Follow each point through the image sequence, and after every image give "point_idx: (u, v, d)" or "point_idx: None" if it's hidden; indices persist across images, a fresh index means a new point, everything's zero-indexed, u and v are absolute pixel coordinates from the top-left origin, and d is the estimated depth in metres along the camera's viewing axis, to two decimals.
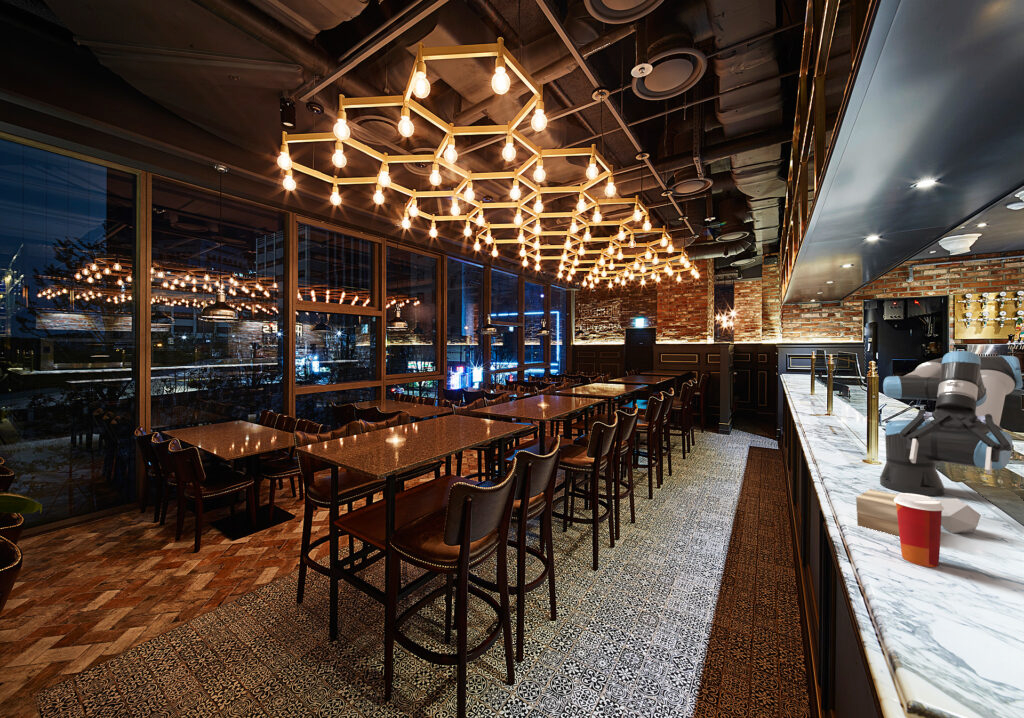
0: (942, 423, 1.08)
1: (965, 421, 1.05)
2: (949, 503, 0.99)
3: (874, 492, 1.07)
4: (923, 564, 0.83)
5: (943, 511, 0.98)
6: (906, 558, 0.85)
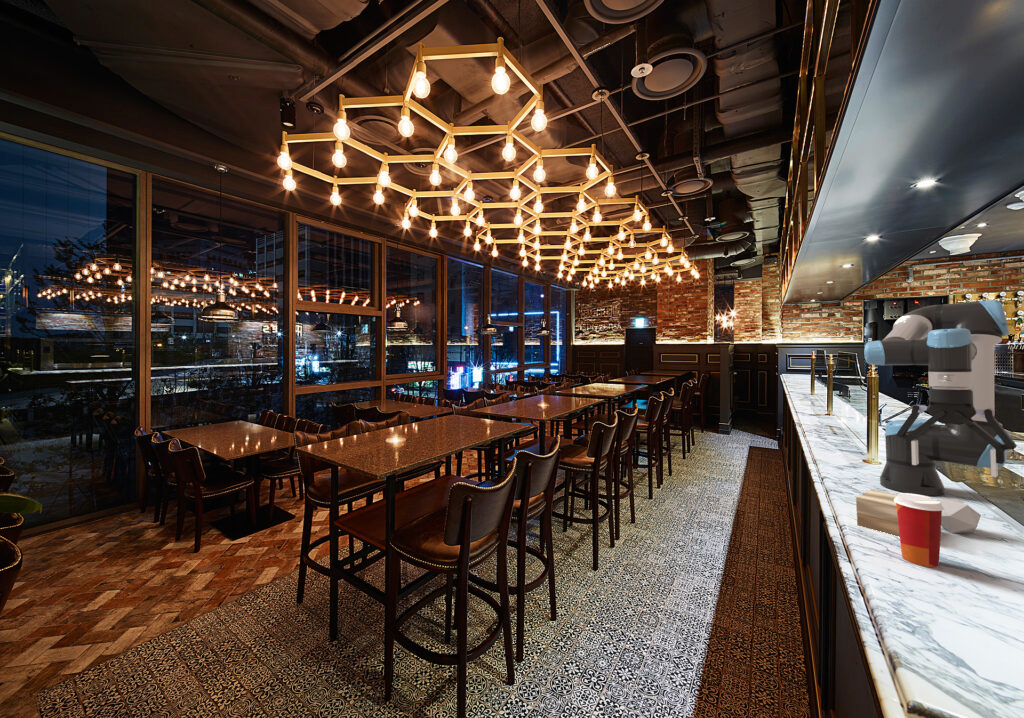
0: (939, 421, 1.00)
1: (964, 420, 0.96)
2: (949, 503, 0.99)
3: (875, 492, 1.07)
4: (923, 564, 0.83)
5: (943, 511, 0.98)
6: (906, 558, 0.85)
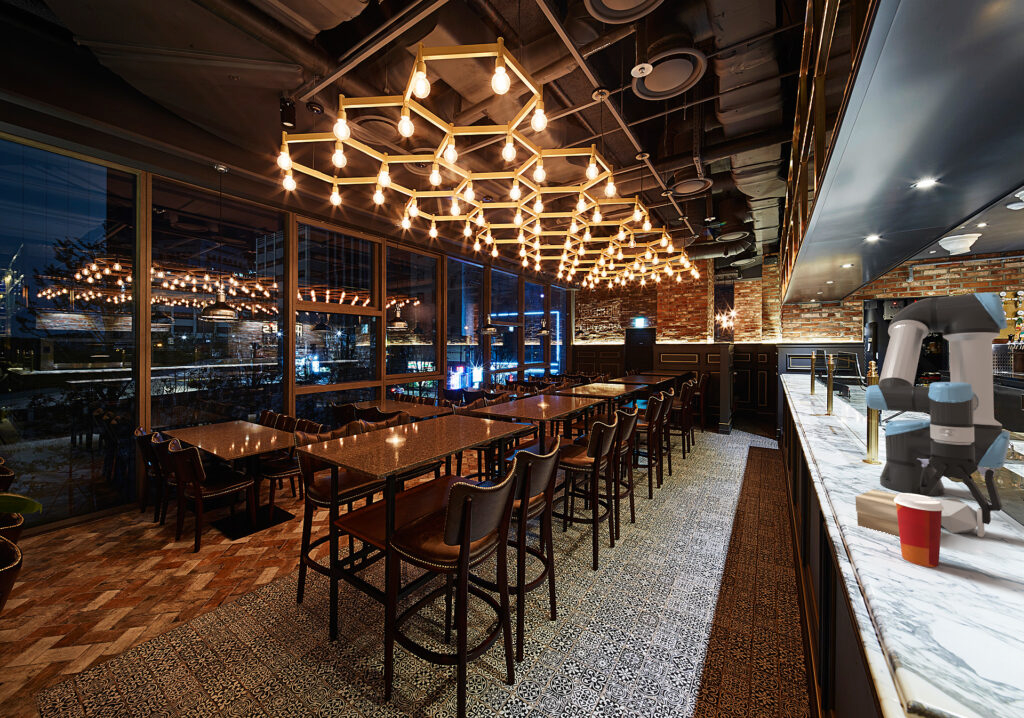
0: None
1: (963, 476, 0.97)
2: (949, 503, 0.99)
3: (876, 492, 1.07)
4: (923, 564, 0.83)
5: (943, 511, 0.98)
6: (906, 558, 0.85)
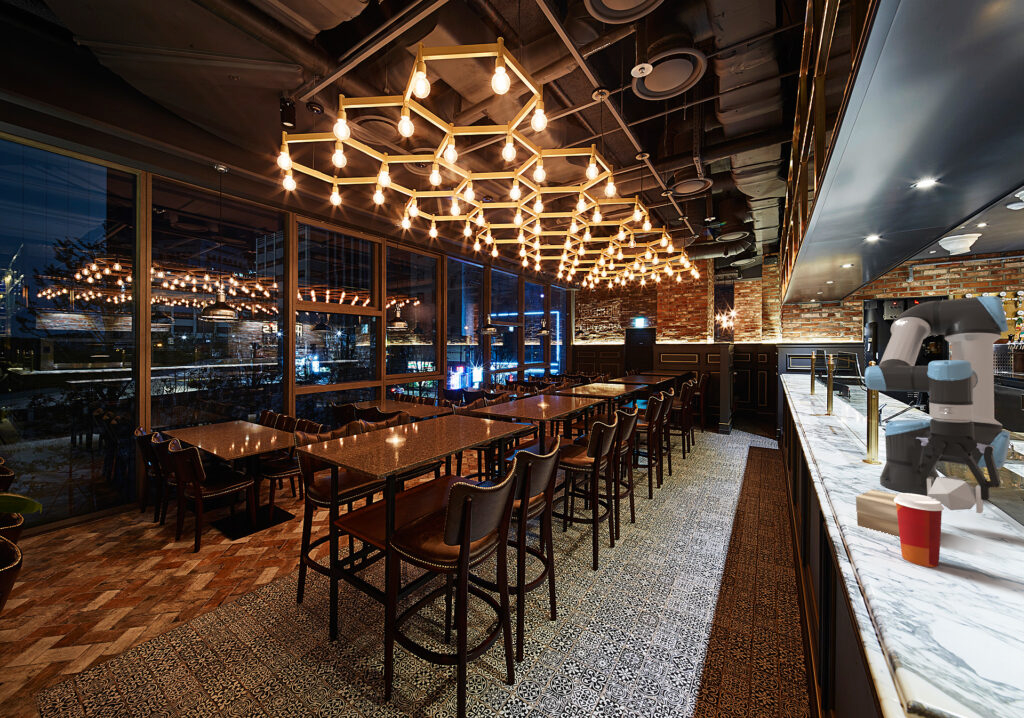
0: None
1: (962, 453, 0.97)
2: (948, 480, 0.99)
3: (875, 492, 1.06)
4: (923, 564, 0.83)
5: (942, 489, 0.99)
6: (906, 558, 0.85)
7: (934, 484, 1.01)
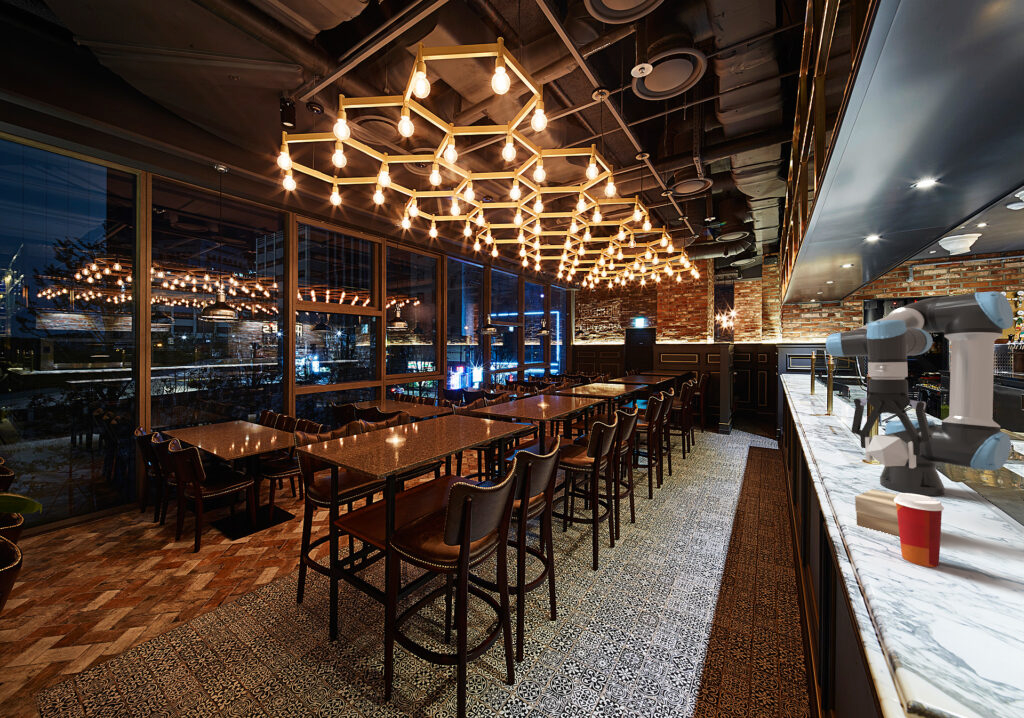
0: None
1: (896, 410, 0.99)
2: (883, 437, 1.01)
3: (875, 492, 1.06)
4: (923, 564, 0.83)
5: (877, 445, 1.01)
6: (906, 558, 0.85)
7: (871, 442, 1.03)
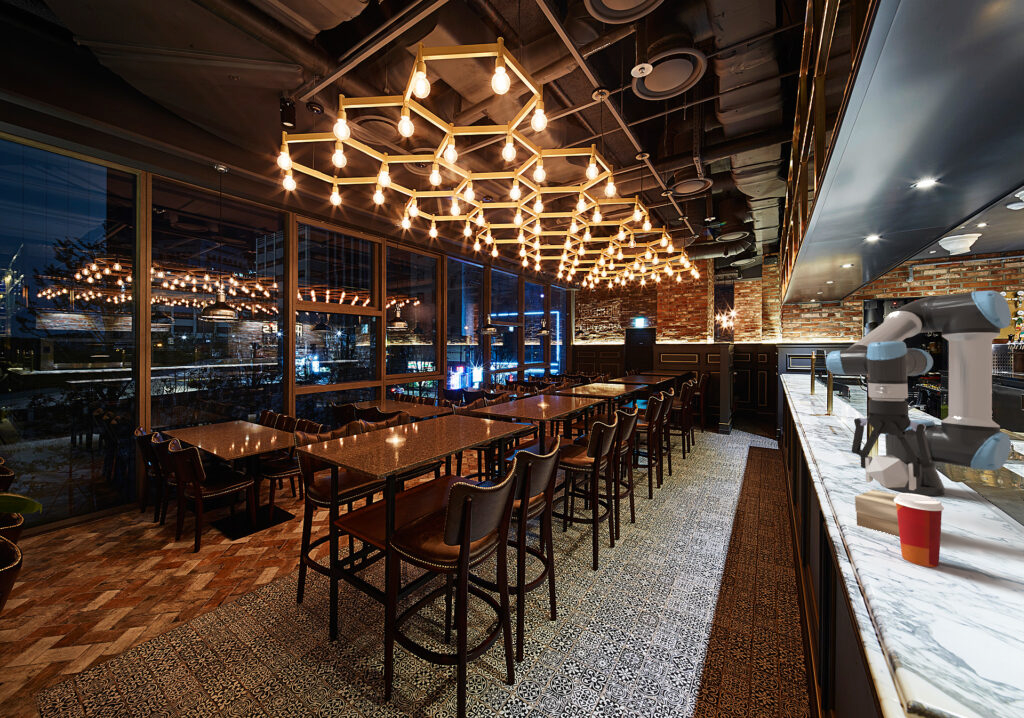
0: None
1: (896, 431, 0.99)
2: (883, 458, 1.01)
3: (876, 492, 1.06)
4: (923, 564, 0.83)
5: (877, 466, 1.01)
6: (906, 558, 0.85)
7: (871, 462, 1.03)
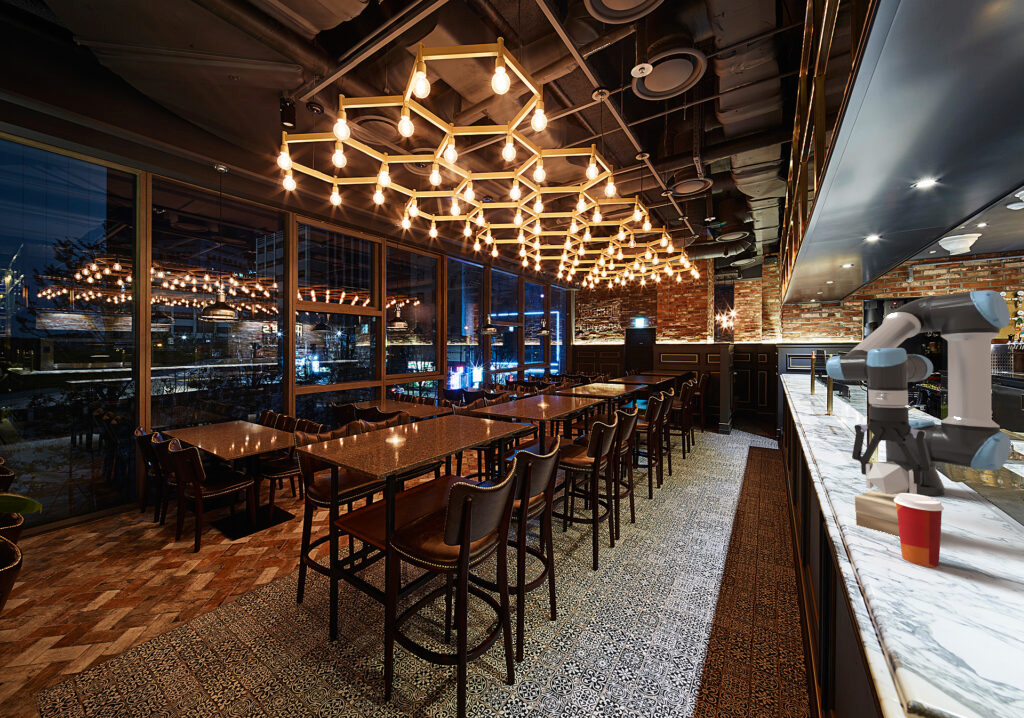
0: None
1: (897, 438, 0.99)
2: (884, 465, 1.01)
3: (876, 493, 1.06)
4: (923, 564, 0.83)
5: (878, 473, 1.01)
6: (906, 558, 0.85)
7: (872, 469, 1.03)
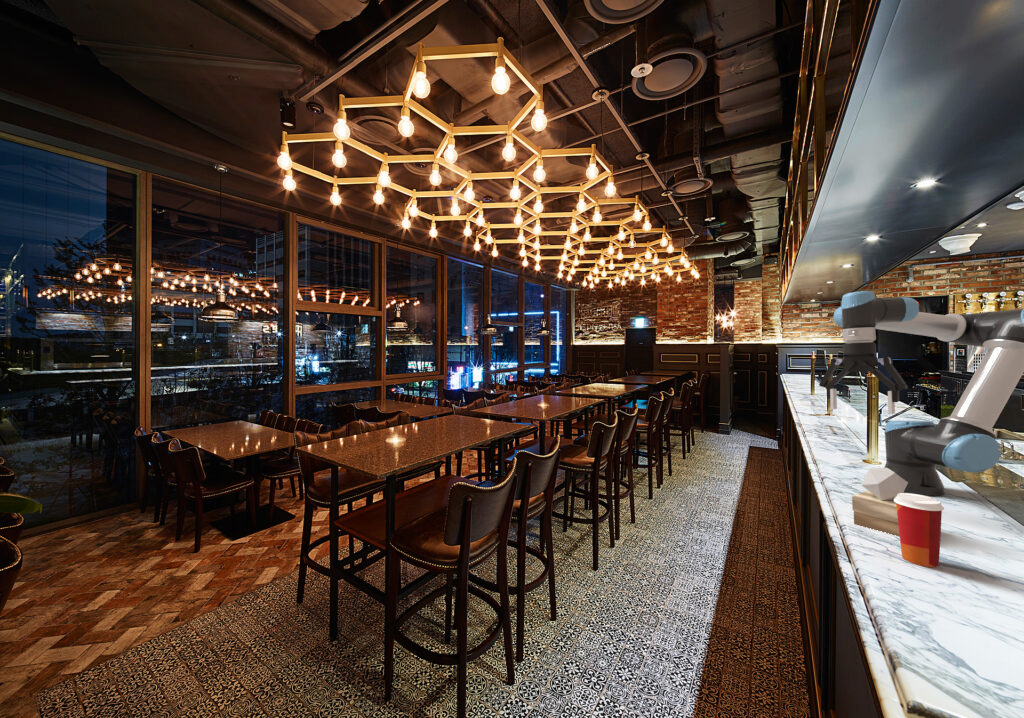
0: (851, 370, 1.19)
1: (868, 368, 1.15)
2: (879, 471, 1.02)
3: None
4: (923, 564, 0.83)
5: (873, 479, 1.02)
6: (906, 558, 0.85)
7: (866, 475, 1.04)
